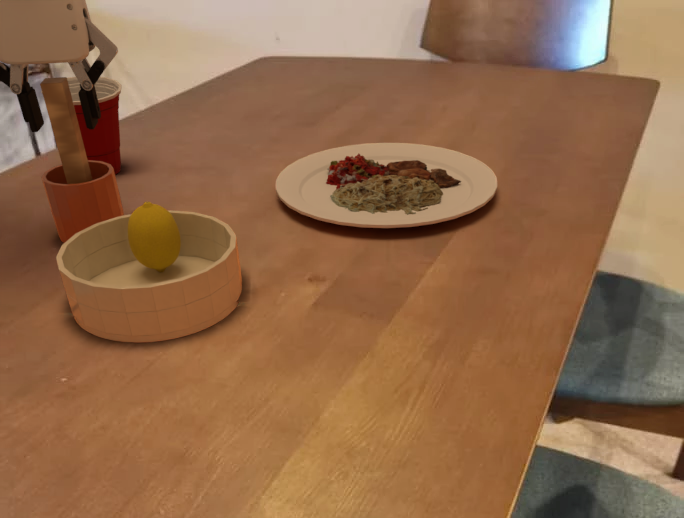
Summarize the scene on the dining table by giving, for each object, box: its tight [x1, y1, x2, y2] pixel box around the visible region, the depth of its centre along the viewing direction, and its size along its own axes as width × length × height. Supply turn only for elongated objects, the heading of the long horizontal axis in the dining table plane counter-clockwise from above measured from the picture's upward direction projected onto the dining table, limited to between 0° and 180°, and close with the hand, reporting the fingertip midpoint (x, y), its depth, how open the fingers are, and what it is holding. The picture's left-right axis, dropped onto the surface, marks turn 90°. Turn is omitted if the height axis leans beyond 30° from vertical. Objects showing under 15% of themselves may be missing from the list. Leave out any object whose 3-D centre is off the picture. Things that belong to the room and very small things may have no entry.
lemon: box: [128, 201, 181, 272], centre depth 79 cm, size 6×6×8 cm
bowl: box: [55, 209, 243, 344], centre depth 77 cm, size 18×18×6 cm
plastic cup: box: [40, 75, 122, 175], centre depth 104 cm, size 11×11×12 cm
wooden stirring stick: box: [39, 76, 92, 184], centre depth 85 cm, size 4×4×17 cm
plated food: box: [275, 142, 498, 229], centre depth 98 cm, size 30×30×3 cm
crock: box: [40, 160, 125, 244], centre depth 88 cm, size 8×8×8 cm
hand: (65, 125), depth 82 cm, fingers open, 5 cm apart
